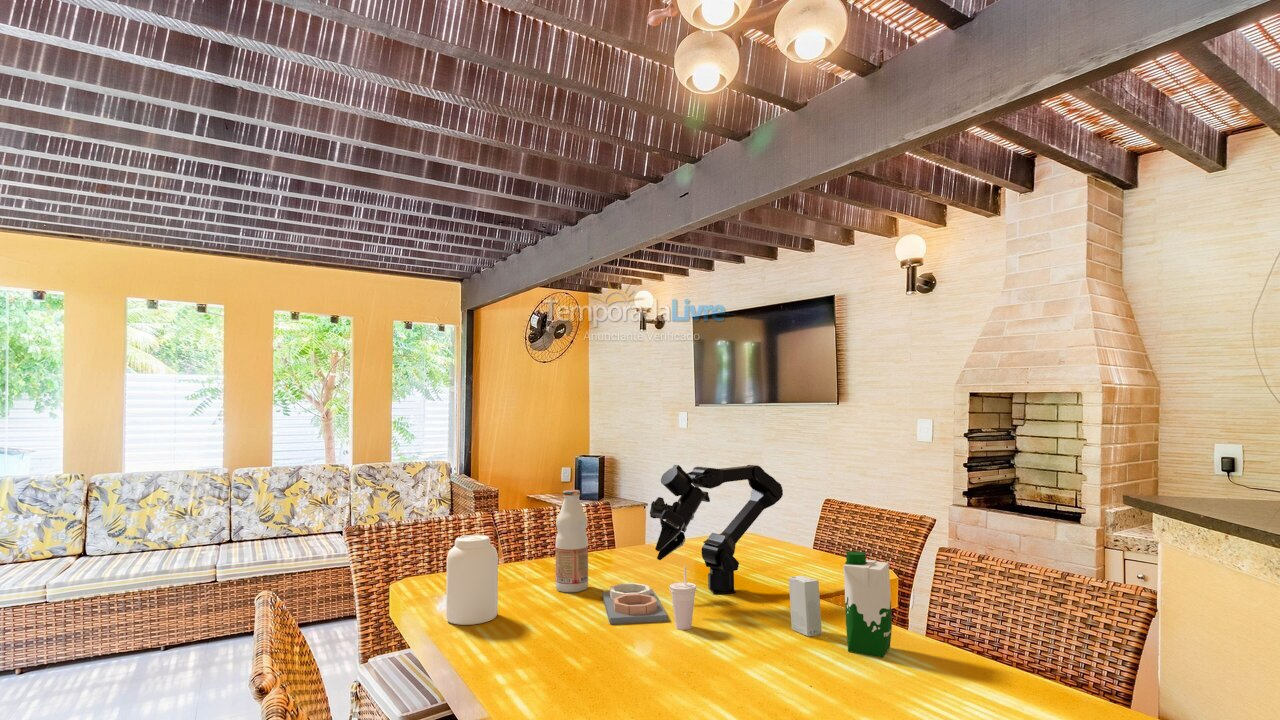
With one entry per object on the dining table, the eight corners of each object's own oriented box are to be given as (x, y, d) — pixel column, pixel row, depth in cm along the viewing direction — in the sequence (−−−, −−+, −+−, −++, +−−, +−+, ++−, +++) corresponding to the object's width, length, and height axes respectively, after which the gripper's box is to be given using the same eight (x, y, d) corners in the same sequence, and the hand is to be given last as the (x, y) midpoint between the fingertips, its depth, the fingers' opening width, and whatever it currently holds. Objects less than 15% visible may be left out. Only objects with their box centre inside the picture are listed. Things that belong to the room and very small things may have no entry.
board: (652, 594, 185) (652, 581, 186) (667, 621, 162) (667, 606, 162) (602, 596, 183) (602, 583, 184) (609, 624, 160) (609, 609, 160)
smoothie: (698, 631, 154) (697, 570, 155) (670, 631, 154) (669, 570, 155) (696, 622, 160) (695, 563, 161) (669, 623, 160) (668, 563, 161)
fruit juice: (557, 594, 187) (557, 493, 189) (554, 585, 196) (554, 489, 198) (590, 591, 189) (589, 492, 191) (585, 583, 198) (585, 488, 200)
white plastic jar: (507, 617, 166) (508, 536, 168) (463, 629, 157) (464, 543, 159) (479, 607, 175) (479, 530, 176) (436, 618, 166) (437, 537, 167)
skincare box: (822, 634, 151) (821, 580, 152) (807, 637, 149) (805, 582, 150) (804, 626, 157) (803, 574, 157) (789, 629, 155) (788, 576, 155)
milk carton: (853, 640, 147) (850, 548, 149) (896, 647, 142) (892, 552, 144) (842, 652, 140) (839, 555, 141) (887, 660, 135) (883, 560, 137)
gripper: (663, 502, 194) (634, 548, 188) (660, 480, 178) (629, 529, 172) (696, 521, 190) (668, 569, 184) (696, 500, 174) (666, 551, 168)
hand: (657, 555), depth 177 cm, fingers open, 9 cm apart
